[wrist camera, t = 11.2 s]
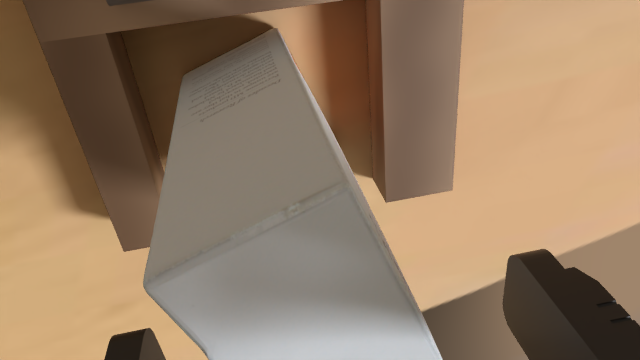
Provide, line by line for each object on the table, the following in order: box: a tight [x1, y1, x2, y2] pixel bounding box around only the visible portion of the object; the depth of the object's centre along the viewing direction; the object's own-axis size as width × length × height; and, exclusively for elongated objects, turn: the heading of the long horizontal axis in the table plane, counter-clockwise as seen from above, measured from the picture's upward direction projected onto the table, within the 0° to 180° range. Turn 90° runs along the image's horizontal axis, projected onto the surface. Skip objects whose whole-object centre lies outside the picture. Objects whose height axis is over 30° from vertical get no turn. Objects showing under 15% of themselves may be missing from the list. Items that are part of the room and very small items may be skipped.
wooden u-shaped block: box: [23, 0, 464, 252], centre depth 18 cm, size 14×11×3 cm
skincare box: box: [143, 28, 443, 360], centre depth 15 cm, size 6×4×12 cm
